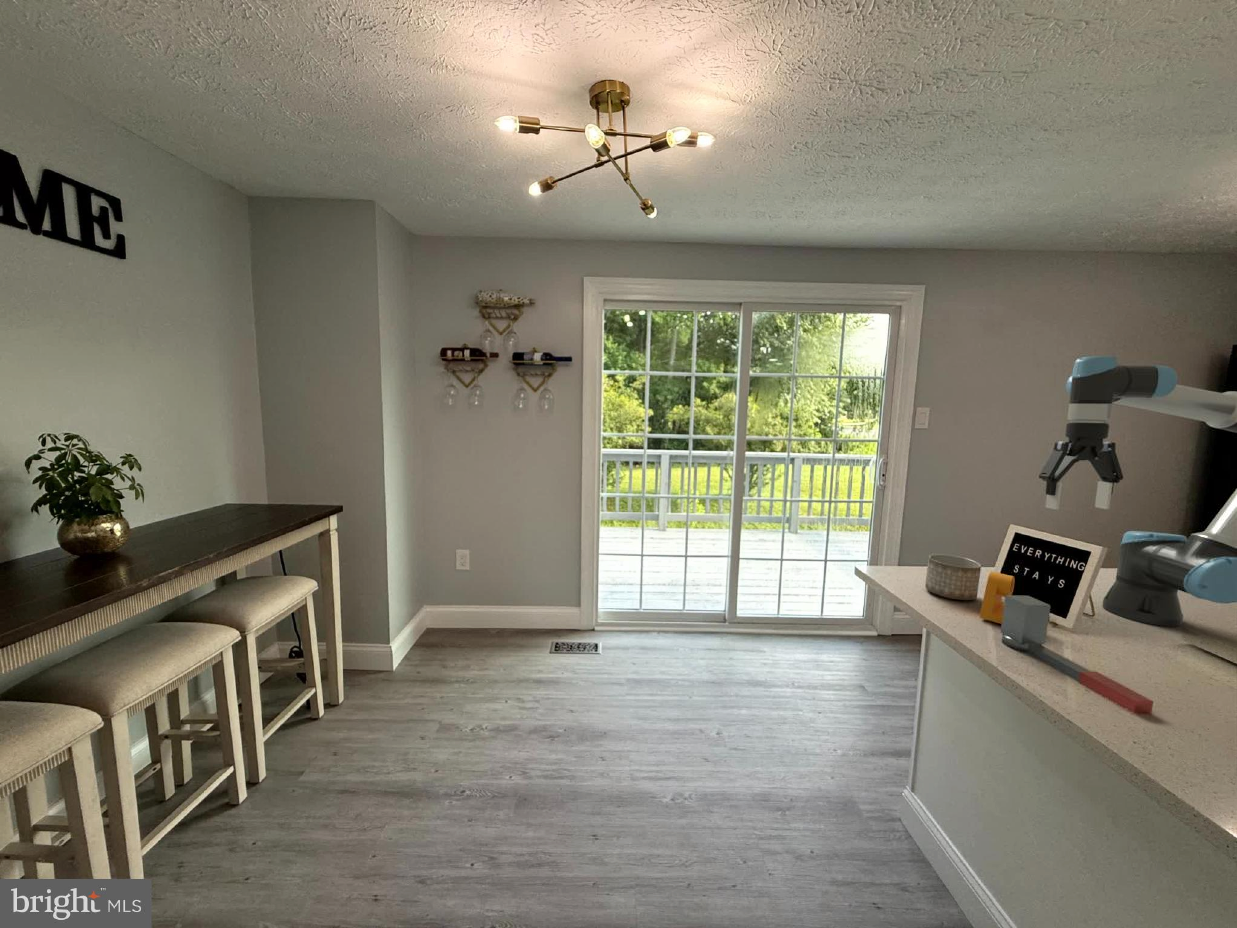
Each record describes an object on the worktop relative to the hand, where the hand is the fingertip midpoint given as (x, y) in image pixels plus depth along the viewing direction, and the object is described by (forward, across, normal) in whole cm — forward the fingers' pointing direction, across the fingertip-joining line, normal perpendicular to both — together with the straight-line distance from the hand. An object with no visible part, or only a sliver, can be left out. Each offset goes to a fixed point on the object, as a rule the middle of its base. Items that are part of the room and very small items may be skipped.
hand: (1077, 508), depth 122 cm
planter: (+30, +14, -21) cm, 39 cm away
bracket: (+30, +13, -4) cm, 33 cm away
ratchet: (+30, +22, +21) cm, 42 cm away
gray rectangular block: (+28, +21, +10) cm, 36 cm away
